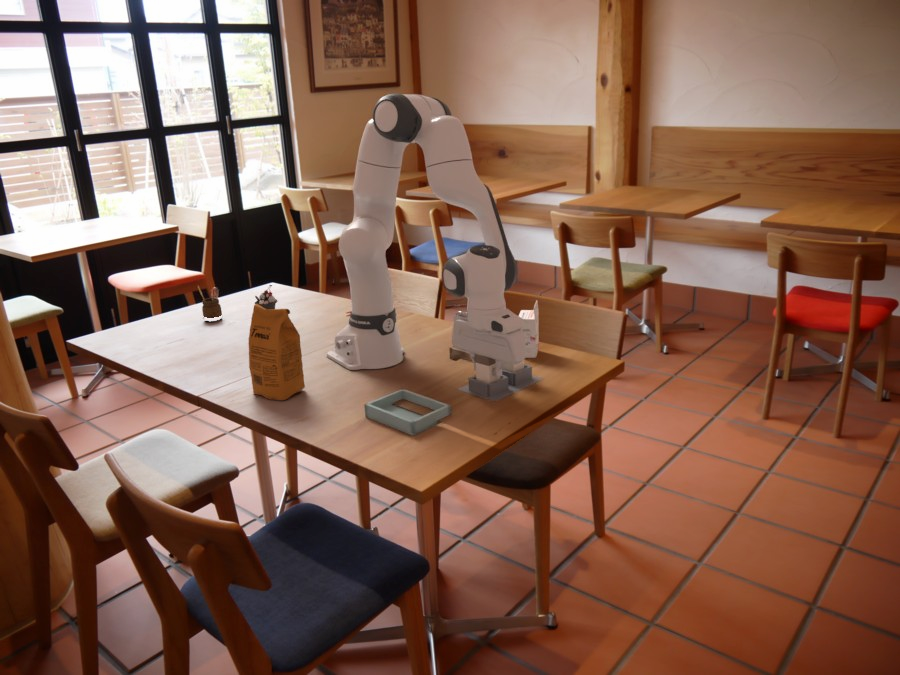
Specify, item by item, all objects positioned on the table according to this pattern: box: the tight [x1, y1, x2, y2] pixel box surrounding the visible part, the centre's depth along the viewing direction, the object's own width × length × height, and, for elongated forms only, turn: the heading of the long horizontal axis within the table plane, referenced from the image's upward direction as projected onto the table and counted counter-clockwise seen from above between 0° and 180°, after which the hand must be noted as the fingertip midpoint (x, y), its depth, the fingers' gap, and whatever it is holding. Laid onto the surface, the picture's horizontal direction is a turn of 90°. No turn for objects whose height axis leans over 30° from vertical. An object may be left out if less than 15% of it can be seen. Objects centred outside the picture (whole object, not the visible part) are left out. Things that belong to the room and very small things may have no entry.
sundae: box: [254, 284, 278, 310], centre depth 227 cm, size 7×7×15 cm
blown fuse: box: [475, 354, 500, 384], centre depth 175 cm, size 4×4×9 cm
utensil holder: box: [197, 285, 223, 318], centre depth 244 cm, size 6×6×12 cm
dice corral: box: [449, 345, 473, 362], centre depth 200 cm, size 9×9×3 cm
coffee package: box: [248, 303, 306, 401], centre depth 179 cm, size 10×12×22 cm
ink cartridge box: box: [518, 299, 540, 359], centre depth 198 cm, size 9×5×15 cm, turn 168°
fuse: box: [503, 359, 525, 372], centre depth 181 cm, size 4×4×9 cm
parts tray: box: [364, 388, 452, 437], centre depth 165 cm, size 16×12×3 cm
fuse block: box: [457, 363, 544, 403], centre depth 179 cm, size 12×18×4 cm, turn 136°
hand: (488, 373), depth 175 cm, fingers open, 4 cm apart
